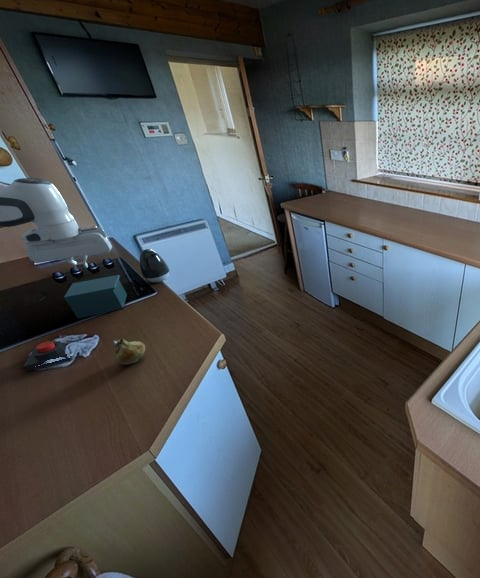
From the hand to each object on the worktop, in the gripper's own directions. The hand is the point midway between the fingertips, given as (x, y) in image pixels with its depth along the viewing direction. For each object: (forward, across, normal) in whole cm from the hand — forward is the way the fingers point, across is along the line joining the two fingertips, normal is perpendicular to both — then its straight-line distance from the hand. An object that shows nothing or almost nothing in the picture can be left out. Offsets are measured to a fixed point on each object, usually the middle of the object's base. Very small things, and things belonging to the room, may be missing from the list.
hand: (82, 267), depth 103 cm
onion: (+20, -11, +36) cm, 43 cm away
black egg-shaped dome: (+20, -16, -21) cm, 33 cm away
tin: (+20, +2, -7) cm, 21 cm away
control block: (+20, +11, +22) cm, 31 cm away
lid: (+11, +2, -7) cm, 13 cm away
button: (+16, +11, +22) cm, 29 cm away
